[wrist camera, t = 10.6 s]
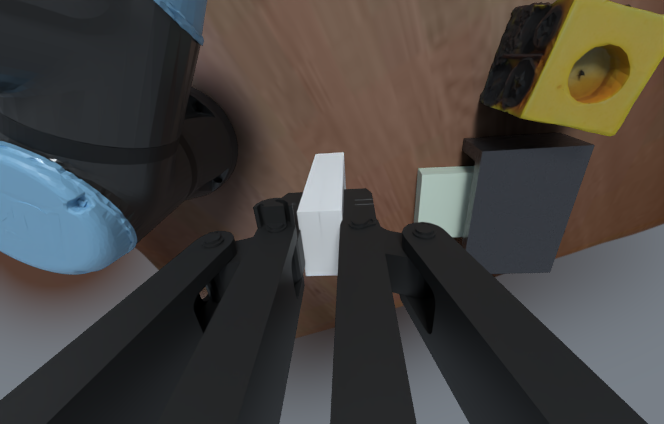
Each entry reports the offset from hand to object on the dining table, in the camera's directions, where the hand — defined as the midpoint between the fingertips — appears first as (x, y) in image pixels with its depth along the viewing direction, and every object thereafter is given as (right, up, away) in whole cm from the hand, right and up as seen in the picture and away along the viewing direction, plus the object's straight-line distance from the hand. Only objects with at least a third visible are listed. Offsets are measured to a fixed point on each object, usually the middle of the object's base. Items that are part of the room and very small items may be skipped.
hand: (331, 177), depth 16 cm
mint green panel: (+19, 0, +27) cm, 33 cm away
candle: (+24, +15, +19) cm, 34 cm away
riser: (+24, 0, +26) cm, 36 cm away
